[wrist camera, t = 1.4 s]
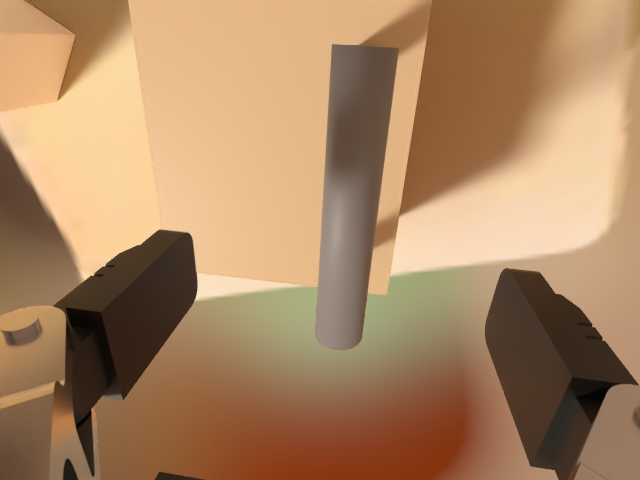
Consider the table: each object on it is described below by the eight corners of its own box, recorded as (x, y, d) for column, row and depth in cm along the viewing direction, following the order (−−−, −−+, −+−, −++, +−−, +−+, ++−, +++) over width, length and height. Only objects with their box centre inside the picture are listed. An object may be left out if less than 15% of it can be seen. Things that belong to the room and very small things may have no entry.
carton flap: (130, -28, 18) (-46, -81, 11) (433, -16, 17) (479, -64, 9) (172, 264, 26) (84, 358, 18) (386, 289, 24) (390, 402, 17)
